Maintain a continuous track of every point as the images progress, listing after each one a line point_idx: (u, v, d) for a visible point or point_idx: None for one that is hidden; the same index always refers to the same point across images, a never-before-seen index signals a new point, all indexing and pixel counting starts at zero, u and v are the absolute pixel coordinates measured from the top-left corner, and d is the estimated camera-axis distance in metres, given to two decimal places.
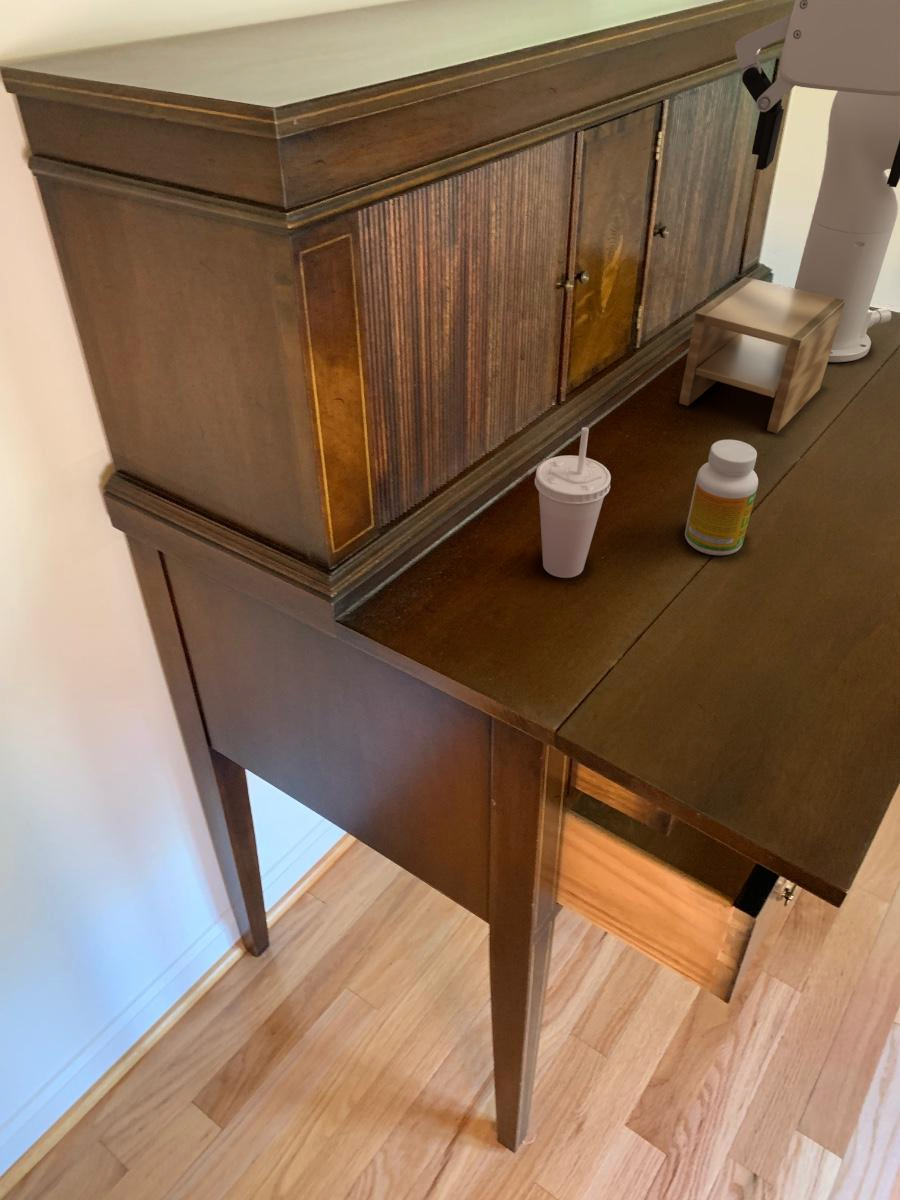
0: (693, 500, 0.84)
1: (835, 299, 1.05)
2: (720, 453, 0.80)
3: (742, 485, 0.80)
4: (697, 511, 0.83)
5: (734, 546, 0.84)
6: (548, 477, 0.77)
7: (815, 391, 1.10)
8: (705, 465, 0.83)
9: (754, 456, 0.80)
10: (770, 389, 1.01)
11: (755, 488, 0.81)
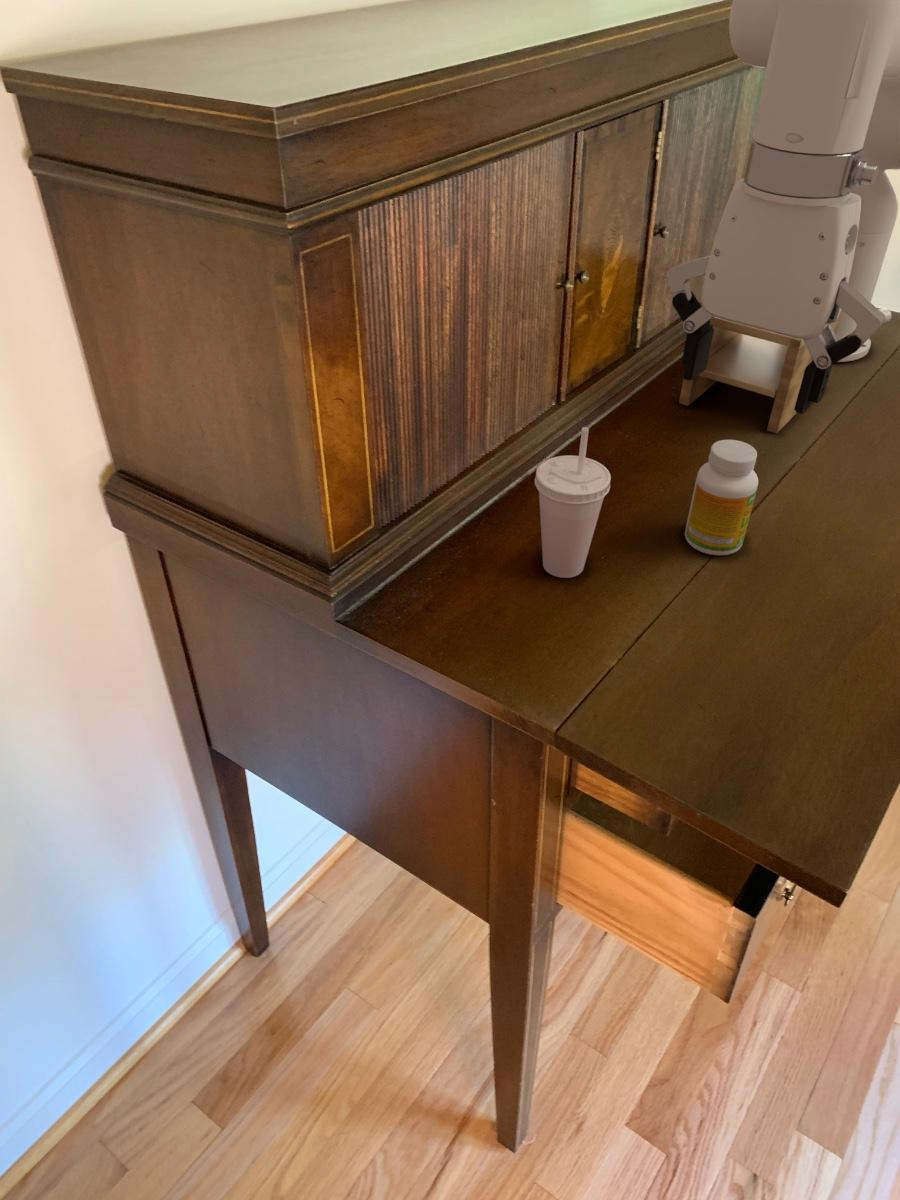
0: (693, 500, 0.84)
1: None
2: (720, 453, 0.80)
3: (743, 485, 0.80)
4: (697, 511, 0.83)
5: (734, 546, 0.84)
6: (548, 477, 0.77)
7: None
8: (705, 465, 0.83)
9: (754, 456, 0.80)
10: (770, 389, 1.01)
11: (755, 488, 0.81)
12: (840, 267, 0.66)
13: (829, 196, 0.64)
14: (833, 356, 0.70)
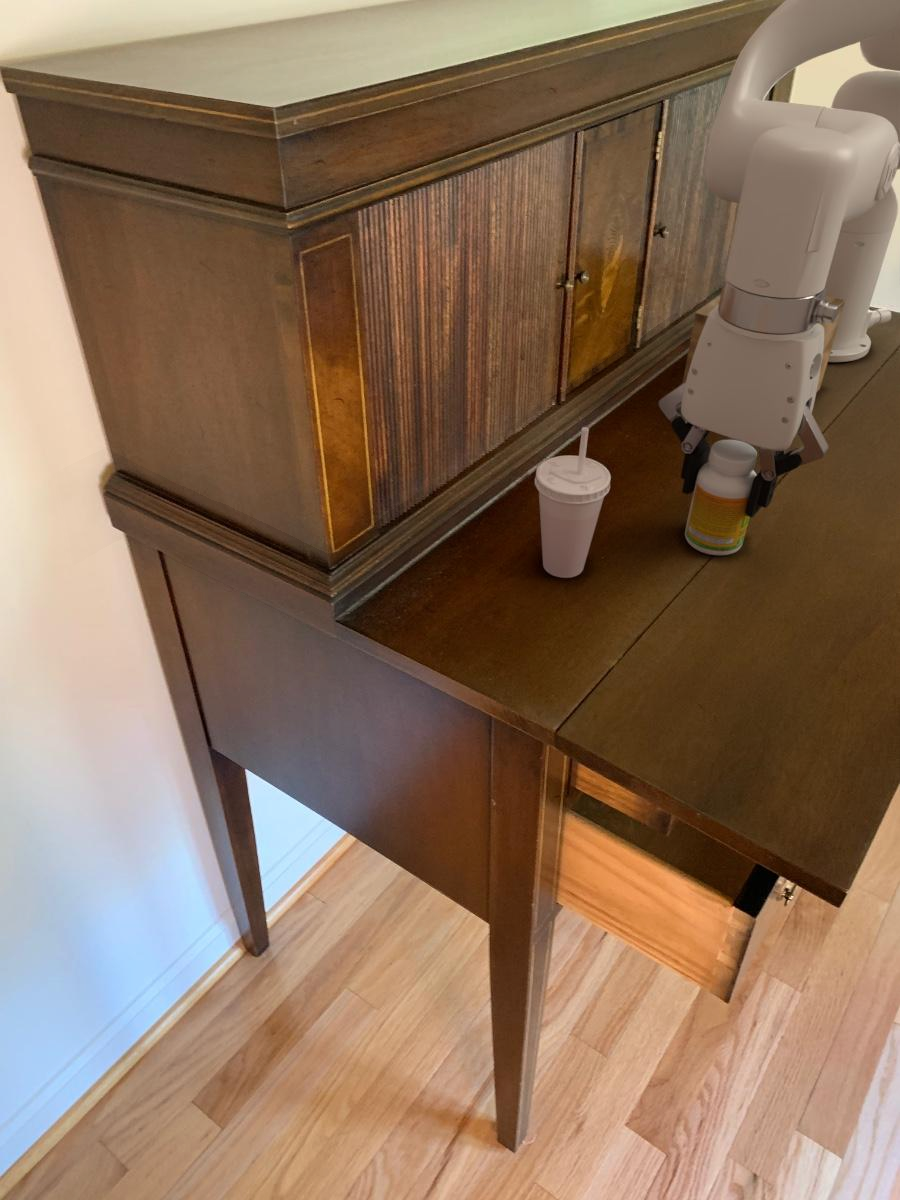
0: (693, 500, 0.84)
1: (835, 299, 1.05)
2: (720, 453, 0.80)
3: (743, 485, 0.80)
4: (697, 511, 0.83)
5: (734, 546, 0.84)
6: (548, 477, 0.77)
7: None
8: (705, 465, 0.83)
9: (754, 456, 0.80)
10: None
11: None
12: (805, 391, 0.73)
13: (794, 332, 0.70)
14: (778, 472, 0.78)
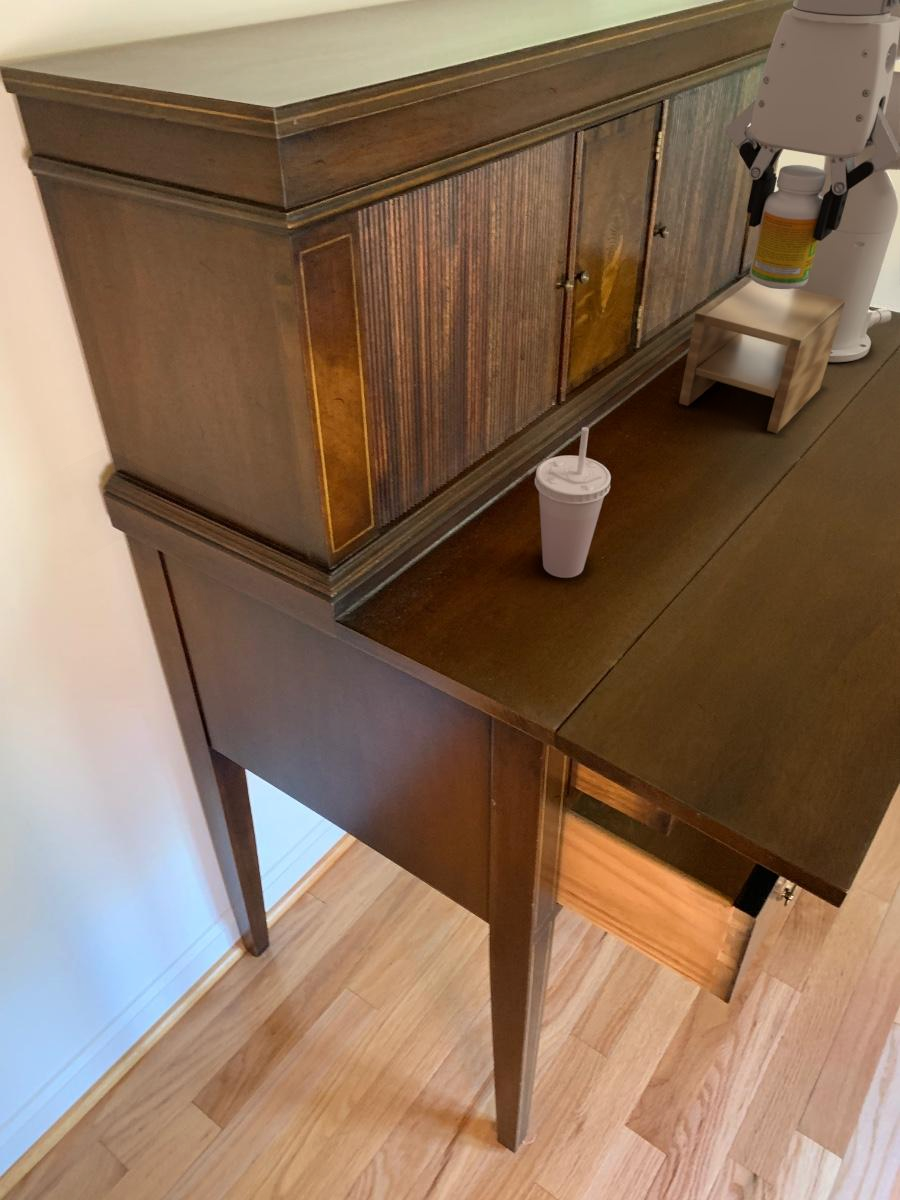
0: (760, 231, 0.84)
1: (835, 299, 1.05)
2: (789, 172, 0.81)
3: (812, 205, 0.81)
4: (765, 240, 0.84)
5: (801, 278, 0.85)
6: (548, 477, 0.77)
7: (815, 391, 1.10)
8: (772, 193, 0.83)
9: (824, 174, 0.80)
10: (770, 389, 1.01)
11: None
12: (881, 84, 0.73)
13: (872, 13, 0.70)
14: (849, 185, 0.79)
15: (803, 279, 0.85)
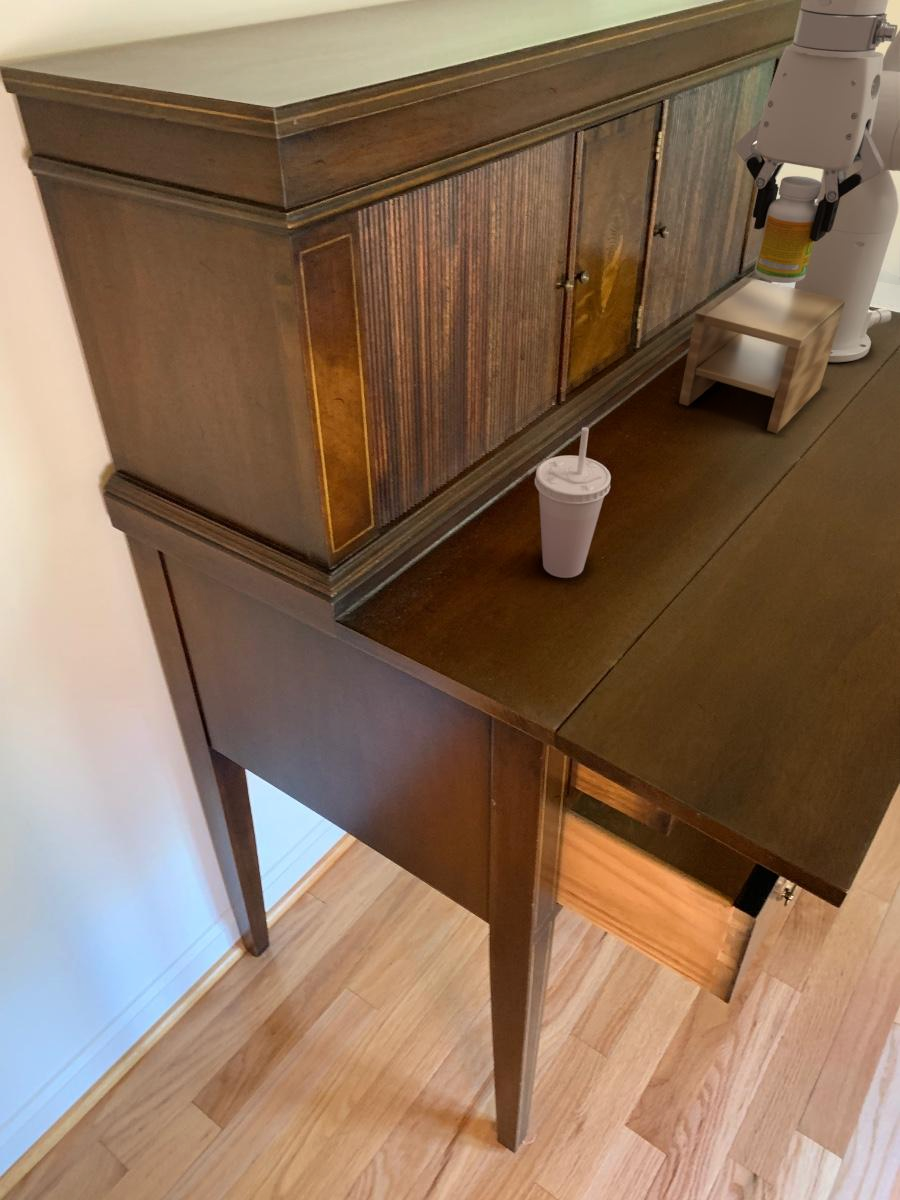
0: (764, 233, 0.98)
1: (835, 299, 1.05)
2: (790, 182, 0.94)
3: (809, 210, 0.94)
4: (768, 240, 0.97)
5: (799, 273, 0.98)
6: (548, 477, 0.77)
7: (815, 391, 1.10)
8: (775, 200, 0.97)
9: (819, 184, 0.94)
10: (770, 389, 1.01)
11: None
12: (867, 108, 0.87)
13: (859, 50, 0.84)
14: (840, 194, 0.92)
15: (801, 274, 0.98)
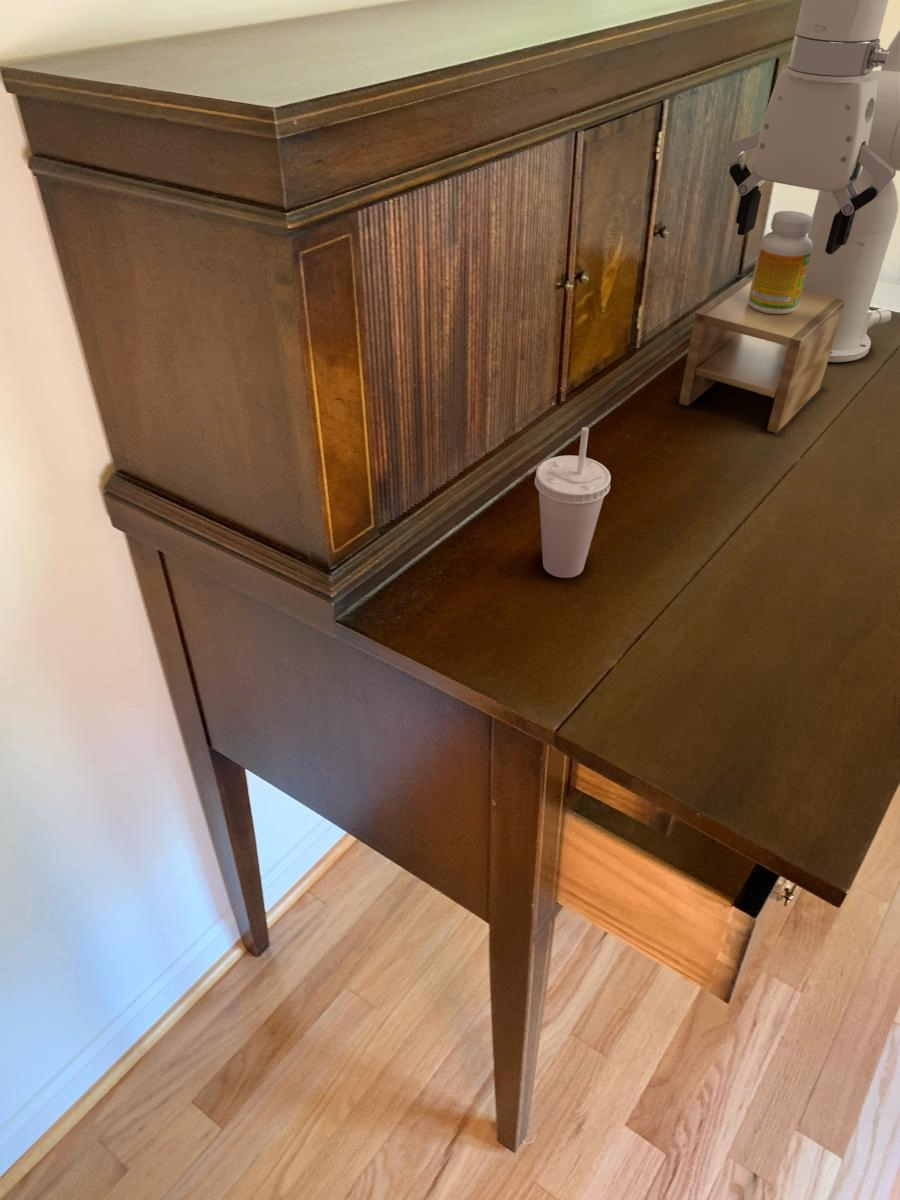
0: (757, 265, 1.00)
1: (835, 299, 1.05)
2: (781, 217, 0.96)
3: (800, 244, 0.96)
4: (761, 273, 0.99)
5: (791, 305, 1.00)
6: (548, 477, 0.77)
7: (815, 391, 1.10)
8: (767, 234, 0.99)
9: (810, 219, 0.96)
10: (770, 389, 1.01)
11: (810, 249, 0.97)
12: (861, 132, 0.88)
13: (853, 75, 0.85)
14: (855, 205, 0.92)
15: (793, 306, 1.01)
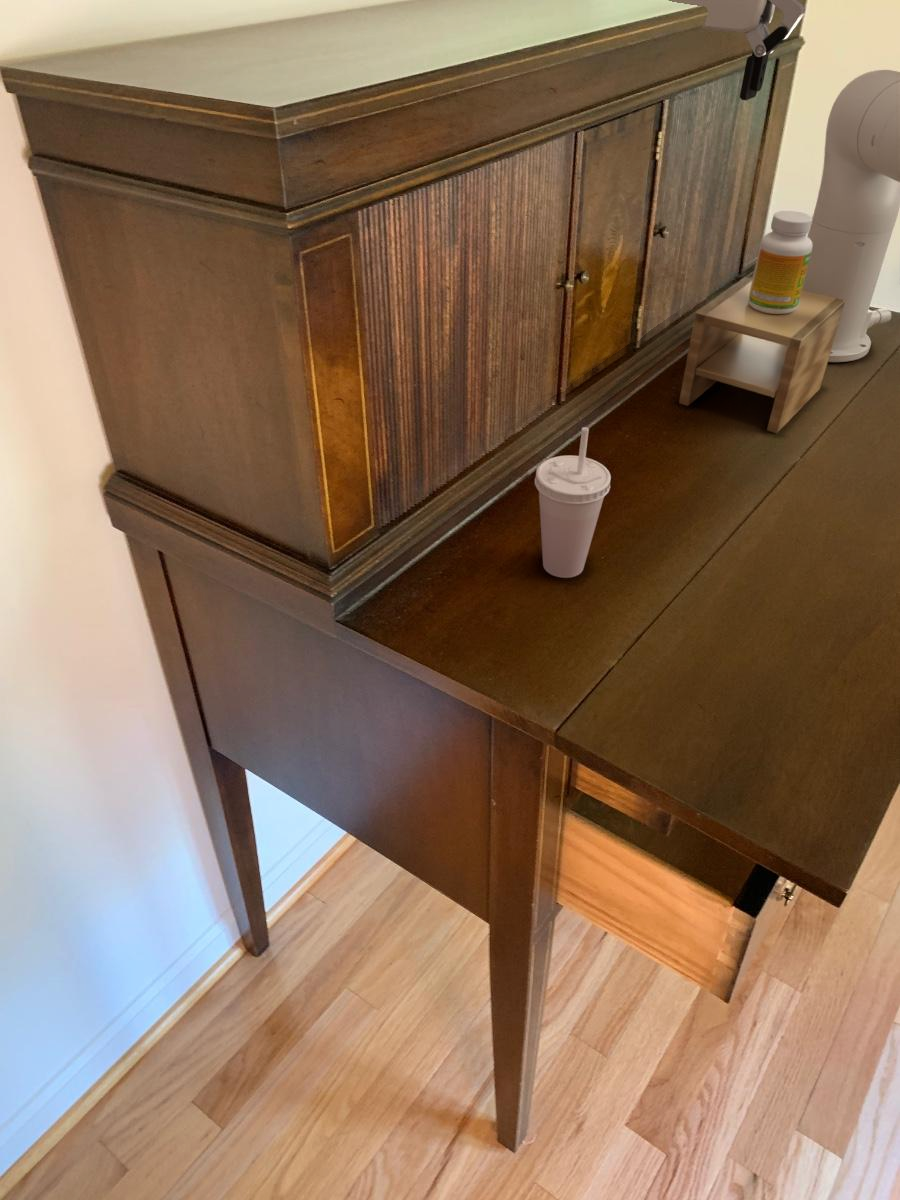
0: (757, 265, 1.00)
1: (835, 299, 1.05)
2: (781, 217, 0.96)
3: (800, 244, 0.96)
4: (761, 273, 0.99)
5: (791, 305, 1.00)
6: (548, 477, 0.77)
7: (815, 391, 1.10)
8: (767, 234, 0.99)
9: (810, 219, 0.96)
10: (770, 389, 1.01)
11: (810, 249, 0.97)
12: None
13: None
14: (767, 45, 0.92)
15: (793, 306, 1.01)
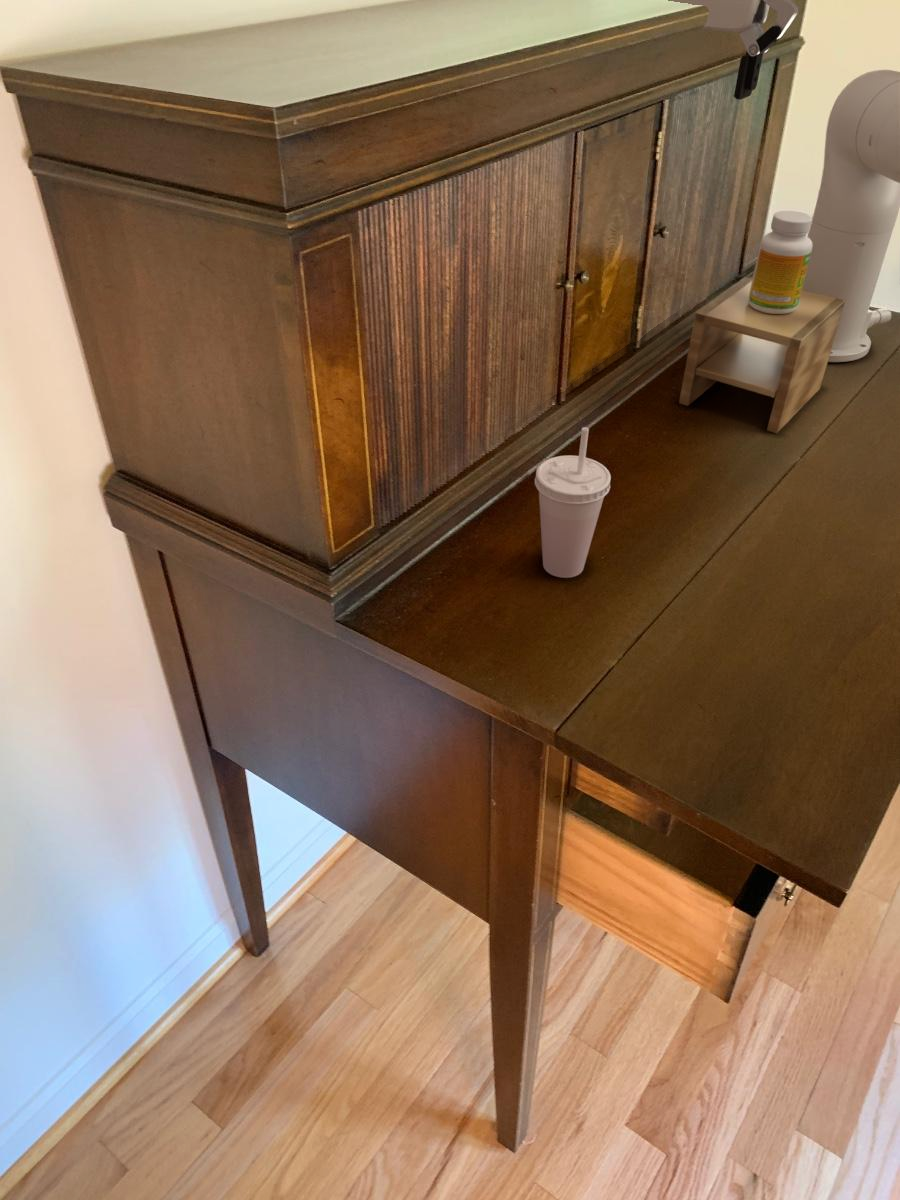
0: (757, 265, 1.00)
1: (835, 299, 1.05)
2: (781, 217, 0.96)
3: (800, 244, 0.96)
4: (761, 273, 0.99)
5: (791, 305, 1.00)
6: (548, 477, 0.77)
7: (815, 391, 1.10)
8: (767, 234, 0.99)
9: (810, 219, 0.96)
10: (770, 389, 1.01)
11: (810, 249, 0.97)
12: None
13: None
14: (761, 45, 0.93)
15: (793, 306, 1.01)
